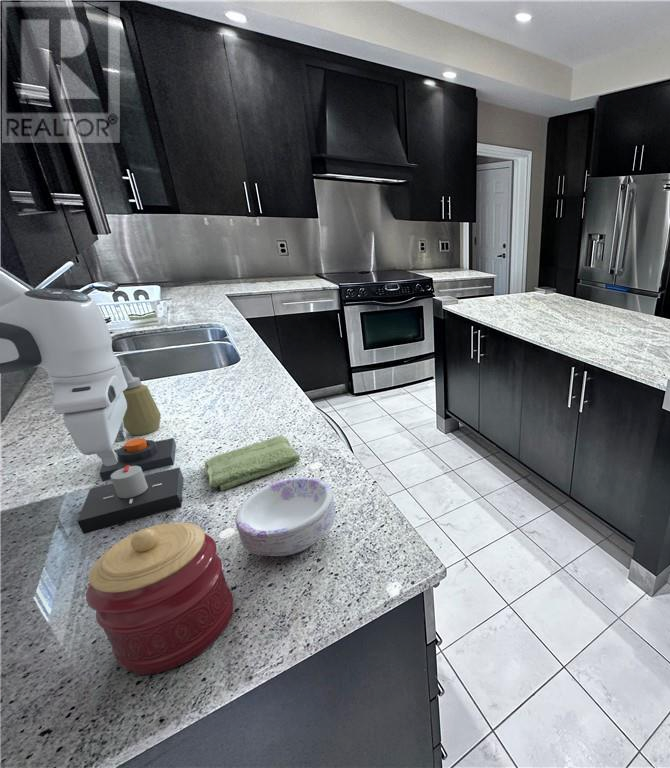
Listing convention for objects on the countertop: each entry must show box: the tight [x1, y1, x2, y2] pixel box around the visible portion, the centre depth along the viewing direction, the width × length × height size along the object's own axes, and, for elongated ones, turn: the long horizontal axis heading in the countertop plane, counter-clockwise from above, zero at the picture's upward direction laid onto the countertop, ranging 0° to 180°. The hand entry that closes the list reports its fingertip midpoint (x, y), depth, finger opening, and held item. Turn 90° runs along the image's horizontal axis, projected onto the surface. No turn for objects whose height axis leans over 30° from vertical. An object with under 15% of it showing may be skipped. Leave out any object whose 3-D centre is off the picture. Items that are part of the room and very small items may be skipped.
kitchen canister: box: [85, 522, 234, 675], centre depth 54 cm, size 13×13×18 cm
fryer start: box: [123, 437, 147, 452], centre depth 92 cm, size 4×4×2 cm
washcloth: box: [204, 435, 301, 491], centre depth 93 cm, size 13×18×3 cm
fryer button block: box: [99, 437, 177, 482], centre depth 93 cm, size 12×10×4 cm
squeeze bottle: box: [121, 365, 162, 436], centre depth 103 cm, size 8×8×18 cm
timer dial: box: [110, 465, 148, 498], centre depth 78 cm, size 4×4×5 cm
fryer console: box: [76, 467, 184, 535], centre depth 80 cm, size 14×11×3 cm
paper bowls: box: [234, 476, 337, 557], centre depth 72 cm, size 15×15×8 cm
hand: (116, 451), depth 76 cm, fingers open, 8 cm apart
